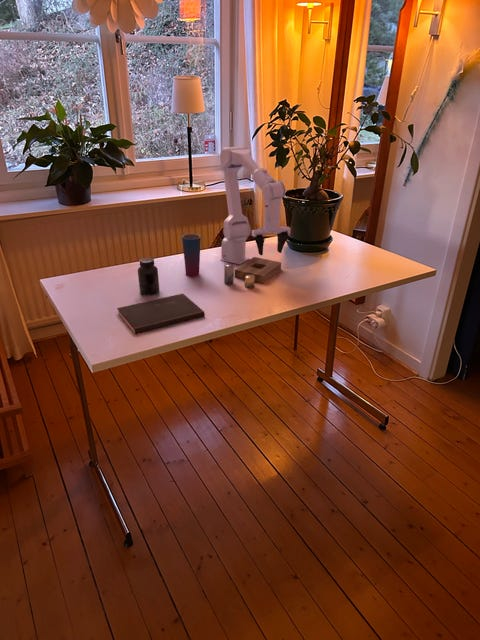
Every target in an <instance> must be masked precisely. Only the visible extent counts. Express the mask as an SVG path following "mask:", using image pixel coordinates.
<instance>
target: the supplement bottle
mask: <svg viewBox="0 0 480 640" xmlns="http://www.w3.org/2000/svg"><path fill="white" fill-rule="evenodd" d="M137 277H138V278H137V279H138V287H139V292H140V294H141V295H143V296H154V295H157V294H158V293H159V292H160V281H159V279H160V278H159V270H158V267H157V266H156V265H155V259H154V258H153V257H142V258H140V259H139V267H138V268H137Z"/></svg>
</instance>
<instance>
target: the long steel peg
mask: <svg viewBox="0 0 480 640" xmlns="http://www.w3.org/2000/svg"><path fill="white" fill-rule="evenodd" d="M223 266H224V267H223V268H224V269H223V270H224V271H223V273H224V279H223V280H224V282H223V283H224V285H226V286H227V285H228V286H231V285H233V284H234V283H235V281H234V280H235V268H234V267H235V265H234V263H226V264H224V265H223Z"/></svg>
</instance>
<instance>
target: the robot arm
mask: <svg viewBox="0 0 480 640" xmlns="http://www.w3.org/2000/svg"><path fill="white" fill-rule="evenodd" d="M220 151H221V152H220V153H219V158H220V167H221V171H223V172H222V173H223V179H224V187H225V195H226V202H227V210H228V216H227V217H226V218H225V220H224V221H223V230H222V231H223V235H224V238H223V239H222V241H221V248H220V249H221V252H220V253H221V255H220V257H221V258H220V261H222V262H228V263H230V264H236V265H242V264H244V263H245V262H247V261H248V260H250V257H249V256H246V245H247V243H246V242H247V241H246V240H248V237H249V236H250V234H251V236H252V237H253V239H254V241H255V244H256V246H257V251H258V255H260V256H263V255H264V244H265V240H266V239H265V238H264V236H267V235H269V236H270V235H277V238H276V239H277V245H276V246H277V247H276V249H277V250H276V251H277V253H279V254H282V252H283V249H284V246H285V244H286V242H287V241H288V239H289V236H290V235H289V234H291V227H289V226H280V225H281V224H280V223H281V211H282V210H281V208H282V206H281V205H282V198H283V199H284V197H285V195H286V187H285V184H284V183H283V182H282V181H281V180H276V179H275V178H274V177H273V176H272V175H271V174H270V172H269V171H268V170H267V168H263V167H262V168H261V167H259V165H258V163H256V161H255V160H254V159H253V157H252V155H251V154H252V153H251V150H250V149H249V147H248V146H246V145H242V146H231V147H230V146H229V147H228V146H224V147H223V148H222V149H221V150H220ZM242 168H245V170H246V171H247V172H248V173H250V174H251V175H252V177H251V178H252V181H253V182H254V183H255V185H256V186H257V187H258V188H259V189H260V192H261V196H262V202H263V205H264V207H263V211H264V212H263V227H260V228H256V229H251V225H250V223H249V219H248V217H247V216H245V215H244V214H243V211H242V209H243V208H242V204H241V203H242V202H241V201H242V200H241V194H240V192H241V191H240V185H239V178H238V172H239V171H240V170H241V169H242Z"/></svg>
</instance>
